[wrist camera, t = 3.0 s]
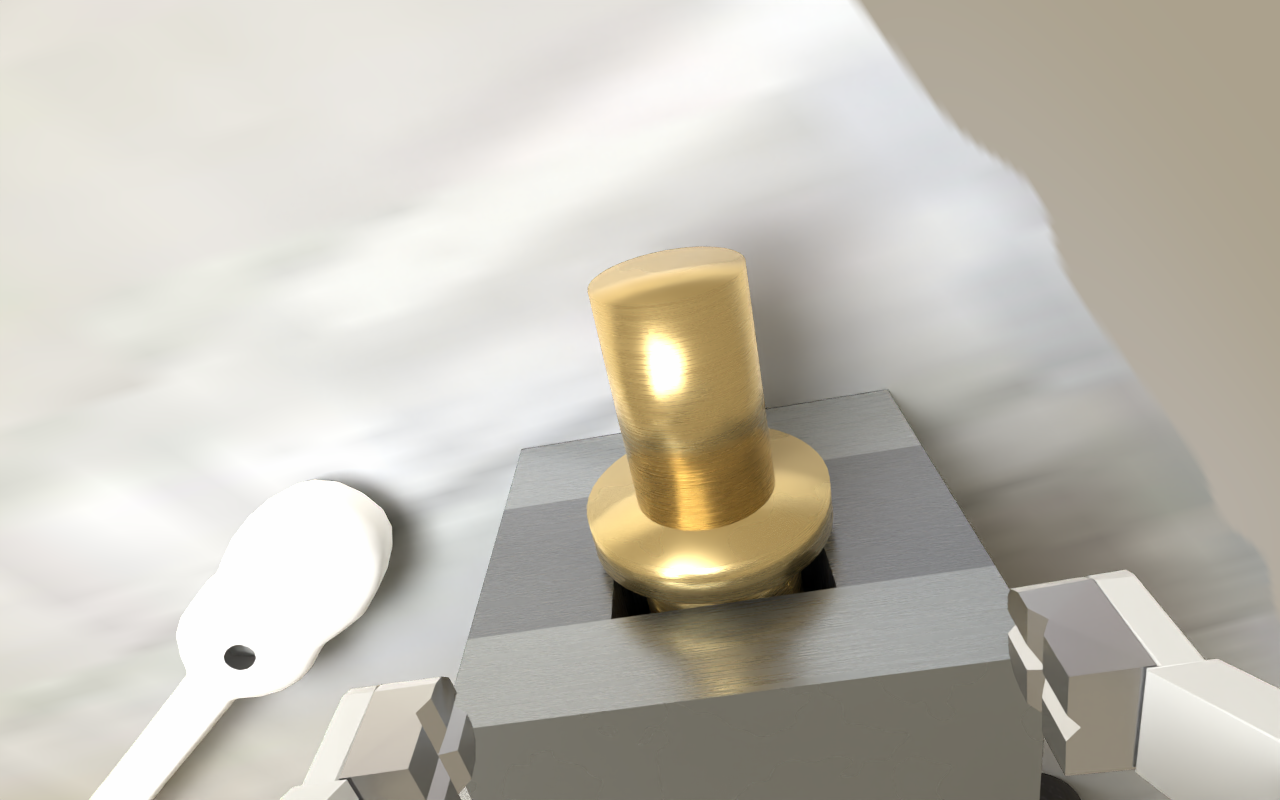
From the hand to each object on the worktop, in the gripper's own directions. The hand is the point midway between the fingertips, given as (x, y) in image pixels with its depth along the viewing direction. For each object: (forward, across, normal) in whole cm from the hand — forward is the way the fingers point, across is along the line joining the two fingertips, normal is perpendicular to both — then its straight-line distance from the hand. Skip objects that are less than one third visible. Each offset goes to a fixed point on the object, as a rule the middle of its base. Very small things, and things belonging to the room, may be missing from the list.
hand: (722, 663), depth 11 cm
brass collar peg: (+14, +1, +5) cm, 15 cm away
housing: (+17, +1, +12) cm, 21 cm away
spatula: (+17, +25, +14) cm, 33 cm away
